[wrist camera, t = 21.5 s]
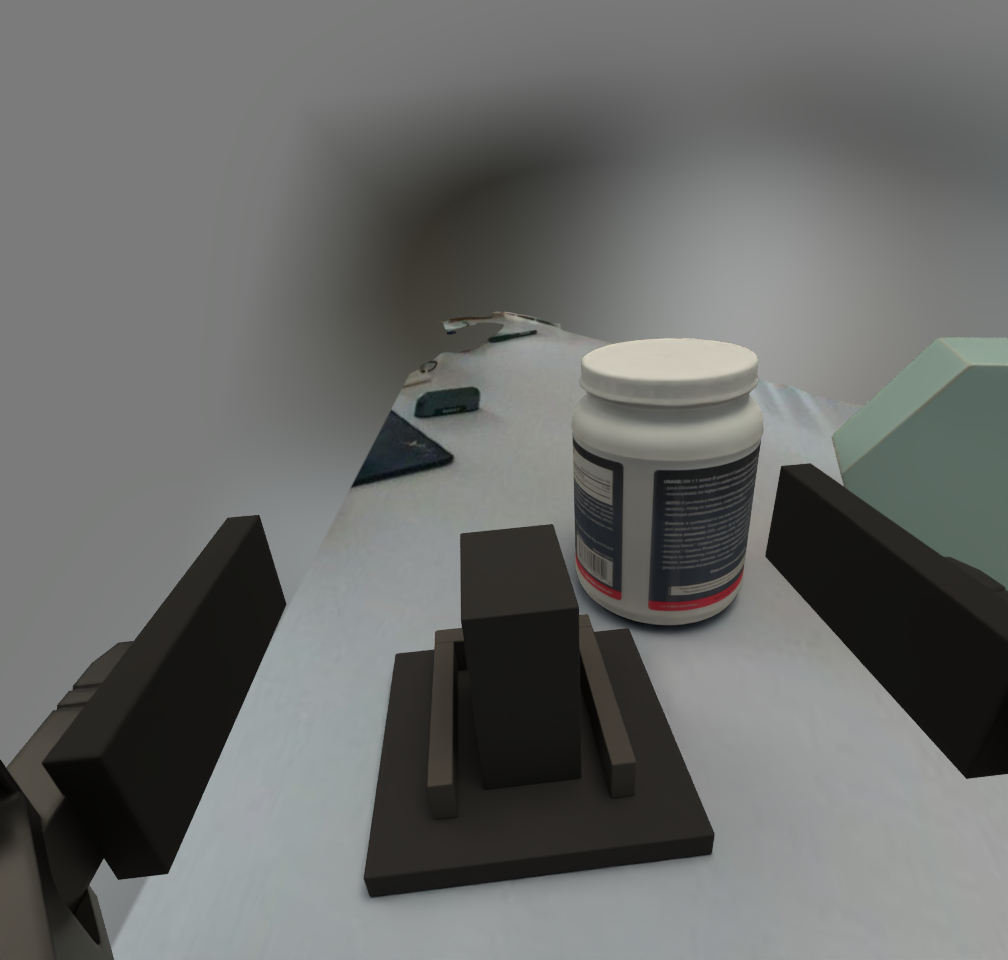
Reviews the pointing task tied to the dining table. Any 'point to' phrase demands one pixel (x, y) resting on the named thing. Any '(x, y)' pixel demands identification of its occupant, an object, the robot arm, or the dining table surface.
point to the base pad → (534, 807)
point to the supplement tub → (665, 476)
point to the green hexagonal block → (939, 451)
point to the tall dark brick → (521, 655)
